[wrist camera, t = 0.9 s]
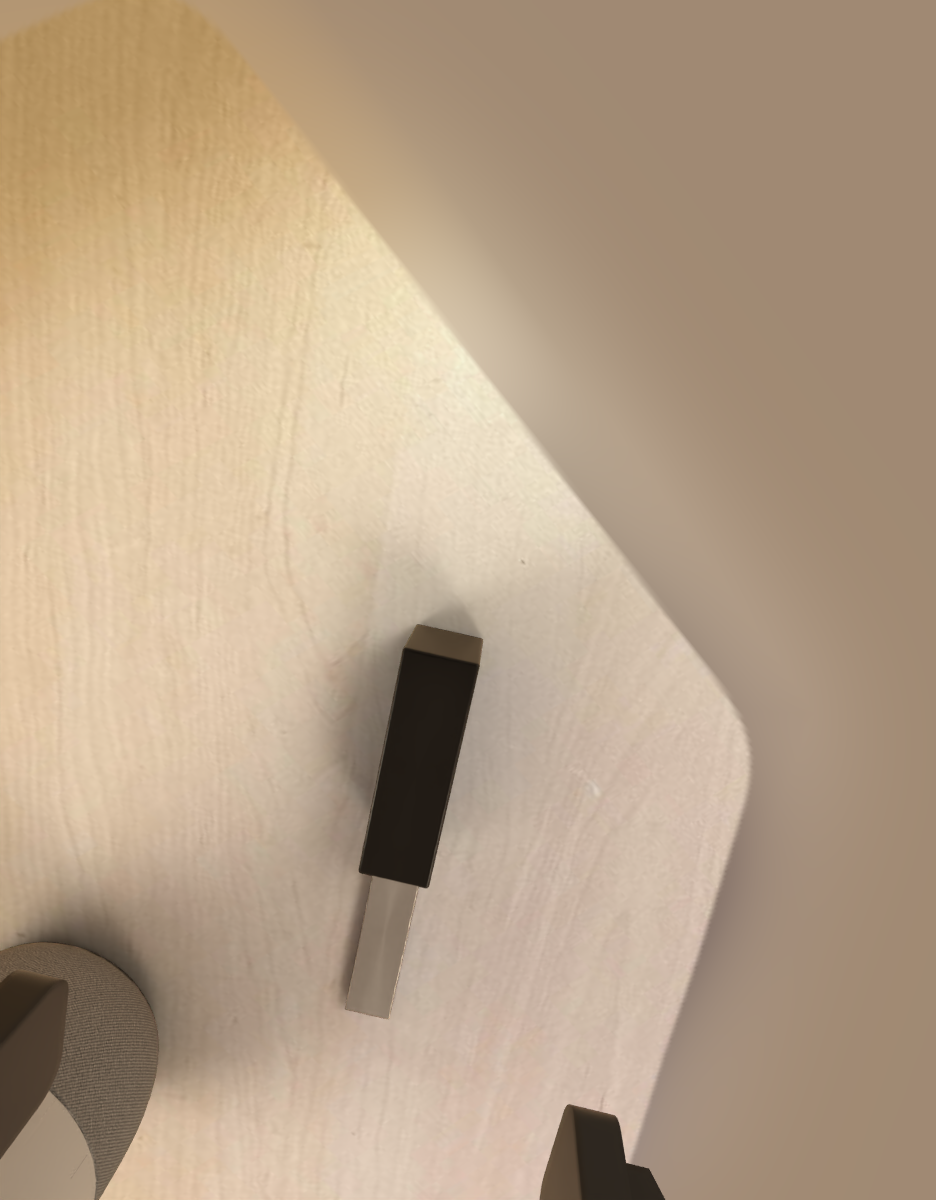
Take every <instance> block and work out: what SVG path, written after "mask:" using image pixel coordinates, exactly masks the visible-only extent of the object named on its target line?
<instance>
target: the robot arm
mask: <svg viewBox="0 0 936 1200" xmlns="http://www.w3.org/2000/svg"><path fill="white" fill-rule="evenodd" d="M68 991H69V986H68V983H67V981H66V980H63V979H59V978H55V977H51V976H46V975H42V974H38V973H34V972H30V971H26V970H21V969H19V970H16V971H14V972H12V973H11V974H9V975H8V976H7V977H6V978H5V979H4V980H3V981H2V982H1V983H0V1159H1V1158H2V1157H3V1155H4V1154H5V1152H6V1151H7V1150H8V1148H9V1147H10V1146H11V1144H12V1143H13V1142H14V1140H15V1139H16V1138H17V1136H18V1135H19V1134H20V1132H21V1131H22V1129H23V1128H24V1127H25V1125H26V1124H27V1123H28V1121H29V1120H30V1119H31V1117H32V1116H33V1115H34V1113H35V1112H36V1110H37V1109H38V1108H39V1106H40V1105H41V1103H42V1102H43V1100H44V1099H45V1097H46V1095H47V1093H48V1092H49V1090H50V1088H51V1086H52V1084H53V1082H54V1079H55V1077H56V1075H57V1072H58V1069H59V1066H60V1063H61V1059H62V1052H63V1042H64V1032H65V1022H66V1012H67V1002H68ZM540 1200H665V1198H664V1196H663V1195H662V1193H661V1191H660V1189H659V1187H658V1185H657V1183H656V1181H655V1179H654V1177H653V1175H652V1174H651V1172H650V1170H649V1169H648V1168H644V1167H640V1166H635V1165H632V1164H628V1163H626V1160H625V1154H624V1147H623V1141H622V1135H621V1130H620V1125H619V1122H618V1119H617V1117H616V1116H615V1115H611V1114H607V1113H603V1112H599V1111H595V1110H591V1109H587V1108H582V1107H578V1106H574V1105H570V1104H568V1105H567V1106H566V1108H565V1110H564V1113H563V1116H562V1119H561V1122H560V1125H559V1129H558V1132H557V1135H556V1138H555V1142H554V1145H553V1148H552V1151H551V1155H550V1158H549V1161H548V1164H547V1167H546V1171H545V1174H544V1178H543V1182H542V1187H541V1194H540Z"/></svg>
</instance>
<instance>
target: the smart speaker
mask: <svg viewBox="0 0 936 1200" xmlns="http://www.w3.org/2000/svg"><path fill="white" fill-rule="evenodd" d="M19 969H21V970H26V971H30V972H34V973H38V974H42V975H46V976H51V977H55V978H59V979H63V980H66V981H67V983H68V986H69V991H68V1002H67V1012H66V1022H65V1032H64V1042H63V1052H62V1059H61V1063H60V1066H59V1069H58V1072H57V1075H56V1077H55V1079H54V1082H53V1084H52V1086H51V1088H50V1090H49V1092H48V1093H47V1095H46V1097H45V1099H44V1100H43V1102H42V1103H41V1105H40V1106H39V1108H38V1109H37V1110H36V1112H35V1113H34V1115H33V1116H32V1117H31V1119H30V1120H29V1121H28V1123H27V1124H26V1125H25V1127H24V1128H23V1129H22V1131H21V1132H20V1134H19V1135H18V1136H17V1138H16V1139H15V1140H14V1142H13V1143H12V1144H11V1146H10V1147H9V1148H8V1150H7V1151H6V1152H5V1154H4V1155H3V1157H2V1158H1V1159H0V1200H99V1199H100V1197H101V1195H102V1194H103V1192H104V1190H105V1189H106V1187H107V1185H108V1183H109V1182H110V1180H111V1178H112V1177H113V1175H114V1173H115V1172H116V1170H117V1168H118V1166H119V1165H120V1163H121V1161H122V1159H123V1157H124V1155H125V1154H126V1152H127V1150H128V1148H129V1146H130V1144H131V1142H132V1140H133V1138H134V1136H135V1134H136V1132H137V1130H138V1127H139V1125H140V1123H141V1120H142V1118H143V1116H144V1113H145V1110H146V1107H147V1104H148V1101H149V1099H150V1096H151V1092H152V1089H153V1085H154V1081H155V1077H156V1071H157V1065H158V1052H159V1041H158V1030H157V1026H156V1022H155V1018H154V1015H153V1012H152V1010H151V1008H150V1006H149V1004H148V1002H147V1000H146V998H145V997H144V995H143V994H142V992H141V991H140V989H139V988H138V986H137V985H136V984H135V983H134V982H133V980H132V979H131V978H130V977H129V976H128V975H127V974H126V973H124V972H123V971H122V970H121V969H120V968H119V967H117V966H116V965H114V964H113V963H112V962H110V961H108V960H107V959H105V958H103V957H101V956H100V955H98V954H95V953H93V952H91V951H88V950H86V949H83V948H79V947H76V946H71V945H67V944H61V943H51V942H38V943H28V944H23V945H18V946H14V947H11V948H8V949H5V950H2V951H0V983H1V982H2V981H3V980H4V979H5V978H6V977H7V976H8V975H9V974H11V973H12V972H14V971H16V970H19Z"/></svg>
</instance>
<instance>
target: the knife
mask: <svg viewBox="0 0 936 1200" xmlns="http://www.w3.org/2000/svg"><path fill="white" fill-rule="evenodd" d="M482 646H483V639H482V638H478V637H473V636H469V635H464V634H460V633H456V632H451V631H447V630H442V629H438V628H433V627H429V626H424V625H420V624H417V625H416V627H415V629H414V630H413V632H412V634H411V636H410V637H409V639H408V641H407V643H406V645H405V646H404V648H403V651H402V656H401V661H400V666H399V671H398V676H397V681H396V686H395V691H394V696H393V701H392V706H391V711H390V716H389V721H388V726H387V731H386V736H385V741H384V746H383V751H382V756H381V761H380V766H379V771H378V776H377V781H376V786H375V791H374V796H373V801H372V806H371V811H370V816H369V821H368V826H367V831H366V836H365V841H364V846H363V851H362V856H361V861H360V866H359V872H360V873H362V874H366V875H371V876H372V880H371V885H370V890H369V894H368V899H367V904H366V909H365V914H364V919H363V924H362V928H361V933H360V938H359V943H358V948H357V953H356V957H355V962H354V967H353V972H352V977H351V982H350V987H349V991H348V996H347V1001H346V1006H345V1009H346V1010H350V1011H354V1012H358V1013H363V1014H367V1015H371V1016H376V1017H380V1018H384V1019H389V1018H390V1013H391V1009H392V1004H393V1000H394V995H395V991H396V987H397V982H398V978H399V973H400V969H401V964H402V960H403V956H404V951H405V947H406V942H407V938H408V933H409V929H410V925H411V920H412V916H413V911H414V907H415V902H416V898H417V894H418V889H419V887H423V888H428V887H429V884H430V880H431V876H432V871H433V867H434V863H435V858H436V854H437V849H438V845H439V841H440V836H441V832H442V828H443V823H444V819H445V815H446V810H447V806H448V802H449V797H450V793H451V789H452V784H453V780H454V775H455V771H456V767H457V762H458V758H459V754H460V749H461V745H462V741H463V736H464V732H465V728H466V723H467V719H468V715H469V710H470V706H471V701H472V697H473V693H474V688H475V684H476V680H477V675H478V671H479V667H480V660H481V653H482Z"/></svg>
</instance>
